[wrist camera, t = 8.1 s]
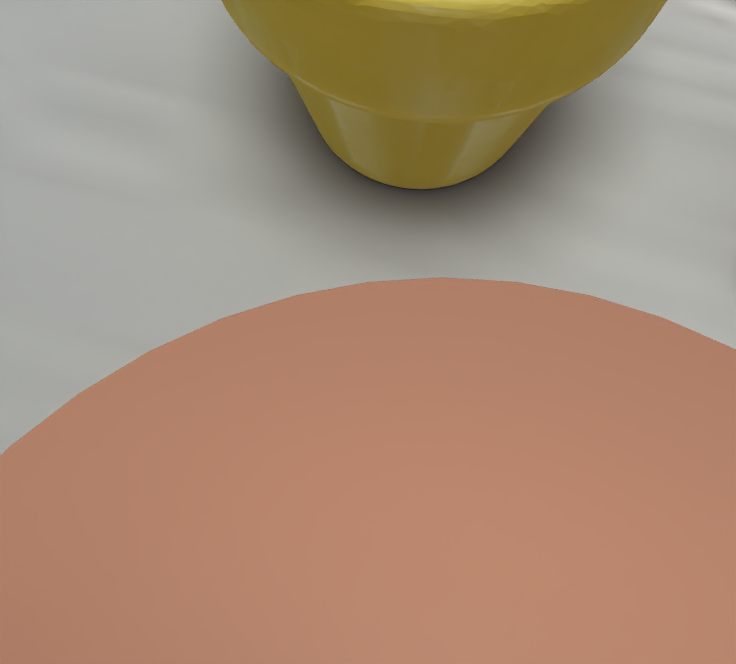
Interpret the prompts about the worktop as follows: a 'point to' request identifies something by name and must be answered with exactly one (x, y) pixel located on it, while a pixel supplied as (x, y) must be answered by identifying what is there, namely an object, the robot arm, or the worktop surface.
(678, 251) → the worktop surface
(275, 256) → the worktop surface
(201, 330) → the post
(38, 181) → the worktop surface
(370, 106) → the plant pot
